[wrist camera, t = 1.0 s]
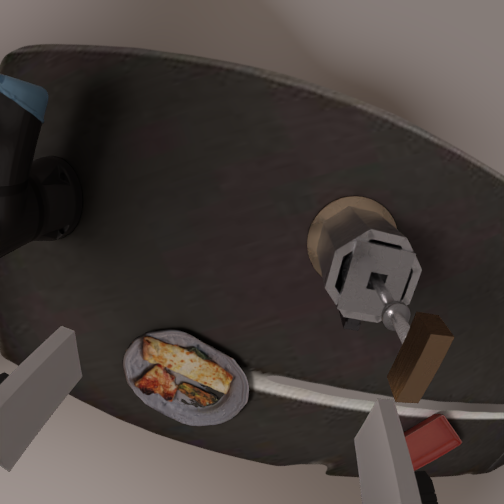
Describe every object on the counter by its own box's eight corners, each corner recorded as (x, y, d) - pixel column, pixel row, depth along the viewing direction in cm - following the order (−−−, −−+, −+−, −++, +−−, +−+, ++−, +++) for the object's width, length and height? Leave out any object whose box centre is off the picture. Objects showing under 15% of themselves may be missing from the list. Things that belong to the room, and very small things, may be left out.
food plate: (114, 379, 62) (108, 389, 59) (148, 302, 55) (141, 312, 51) (215, 431, 64) (212, 442, 61) (271, 368, 57) (270, 380, 54)
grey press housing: (296, 282, 50) (297, 333, 36) (318, 186, 45) (331, 204, 31) (379, 298, 49) (405, 350, 36) (407, 208, 44) (449, 234, 30)
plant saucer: (459, 434, 59) (463, 443, 56) (400, 468, 64) (402, 477, 61) (439, 404, 56) (443, 414, 53) (371, 443, 61) (373, 453, 58)
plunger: (334, 291, 38) (362, 404, 20) (350, 235, 35) (401, 322, 18) (386, 300, 37) (440, 408, 20) (404, 248, 35) (483, 333, 17)
